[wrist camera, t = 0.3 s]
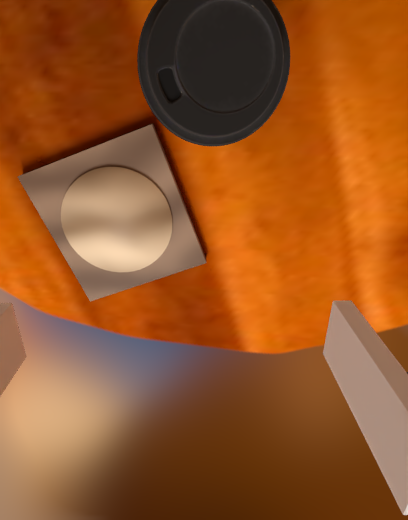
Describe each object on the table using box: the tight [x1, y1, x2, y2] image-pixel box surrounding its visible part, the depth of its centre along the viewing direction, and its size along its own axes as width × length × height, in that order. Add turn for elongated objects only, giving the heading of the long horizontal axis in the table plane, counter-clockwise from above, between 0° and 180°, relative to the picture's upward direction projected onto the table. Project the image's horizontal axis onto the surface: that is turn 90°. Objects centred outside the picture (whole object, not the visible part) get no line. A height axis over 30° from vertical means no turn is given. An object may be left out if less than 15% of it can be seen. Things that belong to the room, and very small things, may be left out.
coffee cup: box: [137, 0, 290, 146], centre depth 27 cm, size 9×9×15 cm
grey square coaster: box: [18, 124, 206, 301], centre depth 39 cm, size 16×15×2 cm
